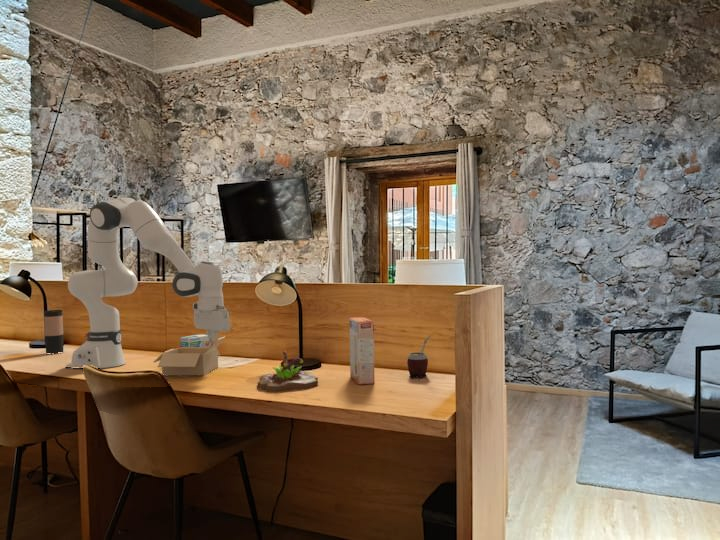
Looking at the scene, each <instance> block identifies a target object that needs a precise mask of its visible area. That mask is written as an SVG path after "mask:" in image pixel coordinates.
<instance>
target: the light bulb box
mask: <svg viewBox="0 0 720 540" xmlns="http://www.w3.org/2000/svg"><path fill="white" fill-rule="evenodd" d="M179 339H180V345H179V348H181V347H211V346H212V345H211V342H209V339H208V335H207V334H202V333H199V334H192V335H187V336H181V337H180V338H179Z"/></svg>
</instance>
